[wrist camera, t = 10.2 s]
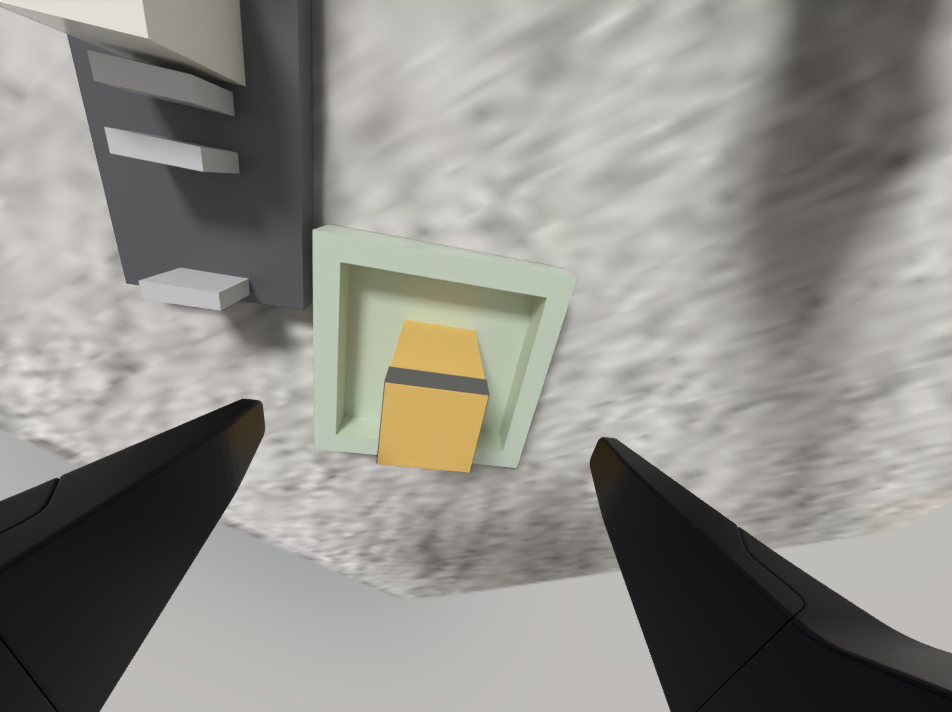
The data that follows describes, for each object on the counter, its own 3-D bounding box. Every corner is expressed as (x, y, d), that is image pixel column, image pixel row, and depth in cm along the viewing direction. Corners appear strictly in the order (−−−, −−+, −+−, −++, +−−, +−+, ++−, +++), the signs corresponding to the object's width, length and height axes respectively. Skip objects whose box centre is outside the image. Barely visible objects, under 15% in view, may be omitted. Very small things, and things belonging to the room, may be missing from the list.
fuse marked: (476, 329, 20) (489, 395, 14) (463, 390, 22) (470, 473, 15) (404, 318, 19) (383, 382, 13) (396, 381, 21) (375, 464, 15)
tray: (561, 267, 19) (576, 278, 17) (510, 442, 25) (516, 467, 22) (329, 224, 17) (312, 229, 15) (327, 423, 23) (314, 449, 20)
